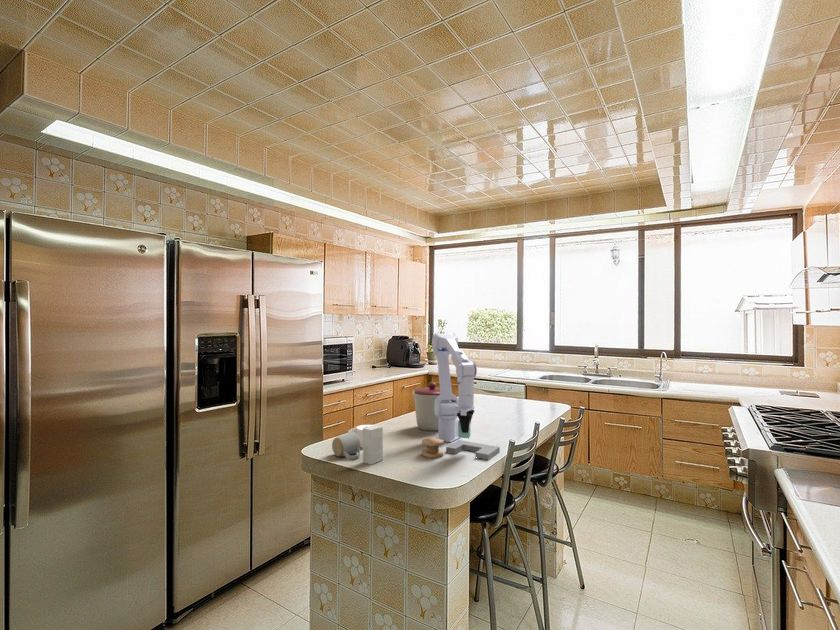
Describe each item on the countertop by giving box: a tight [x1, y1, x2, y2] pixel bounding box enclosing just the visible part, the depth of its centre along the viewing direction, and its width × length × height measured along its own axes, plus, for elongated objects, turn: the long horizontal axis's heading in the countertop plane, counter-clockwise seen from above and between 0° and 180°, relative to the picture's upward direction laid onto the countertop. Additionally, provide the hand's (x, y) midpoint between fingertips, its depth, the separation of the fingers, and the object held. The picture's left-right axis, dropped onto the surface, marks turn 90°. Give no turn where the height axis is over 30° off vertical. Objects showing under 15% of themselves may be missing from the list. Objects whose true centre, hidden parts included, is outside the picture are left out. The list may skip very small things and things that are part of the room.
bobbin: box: [421, 437, 445, 459], centre depth 160 cm, size 8×8×5 cm
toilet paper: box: [347, 424, 374, 448], centre depth 171 cm, size 8×11×7 cm
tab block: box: [458, 421, 471, 439], centre depth 162 cm, size 4×4×6 cm
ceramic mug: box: [331, 432, 361, 460], centre depth 158 cm, size 11×8×8 cm
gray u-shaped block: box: [445, 439, 501, 461], centre depth 163 cm, size 11×17×2 cm, turn 59°
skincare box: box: [362, 424, 384, 465], centre depth 152 cm, size 6×4×12 cm
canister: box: [412, 381, 451, 432], centre depth 198 cm, size 18×18×21 cm
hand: (465, 430), depth 162 cm, fingers closed on tab block, 4 cm apart
